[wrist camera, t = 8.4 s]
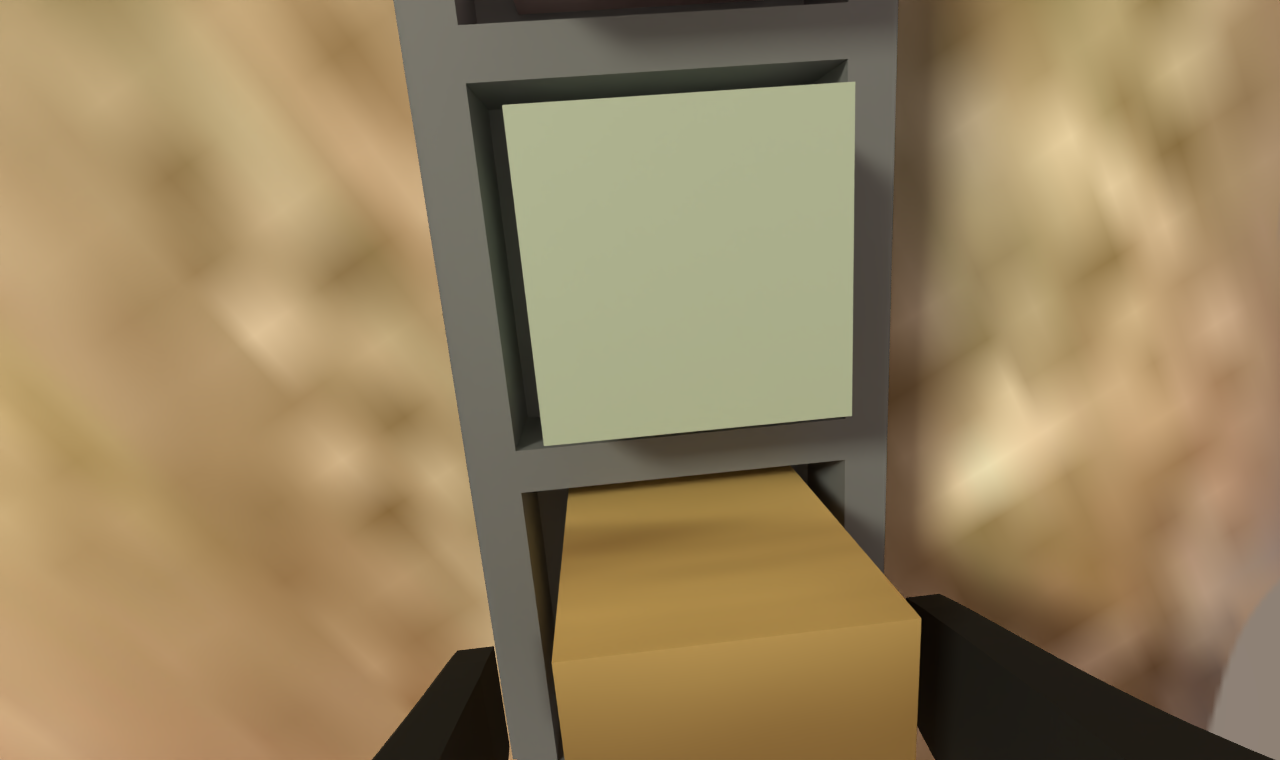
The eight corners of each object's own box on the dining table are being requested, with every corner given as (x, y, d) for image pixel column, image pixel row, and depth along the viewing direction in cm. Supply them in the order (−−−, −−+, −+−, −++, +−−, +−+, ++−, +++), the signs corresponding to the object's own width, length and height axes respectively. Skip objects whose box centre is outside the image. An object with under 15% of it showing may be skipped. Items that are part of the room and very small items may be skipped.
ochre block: (779, 625, 14) (909, 897, 8) (591, 647, 14) (589, 945, 8) (775, 448, 13) (921, 617, 7) (570, 469, 13) (551, 662, 7)
